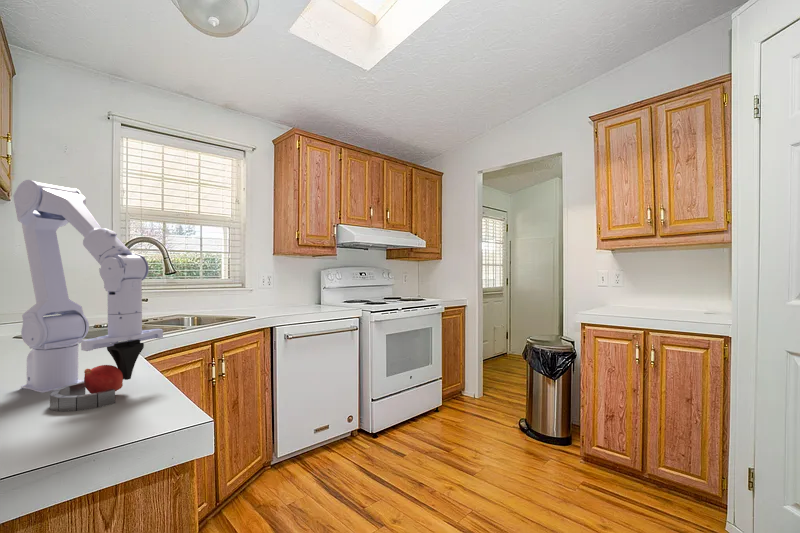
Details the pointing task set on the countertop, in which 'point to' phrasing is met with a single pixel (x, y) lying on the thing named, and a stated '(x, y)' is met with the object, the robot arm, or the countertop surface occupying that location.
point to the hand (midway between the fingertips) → (125, 378)
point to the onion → (103, 378)
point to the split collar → (79, 398)
